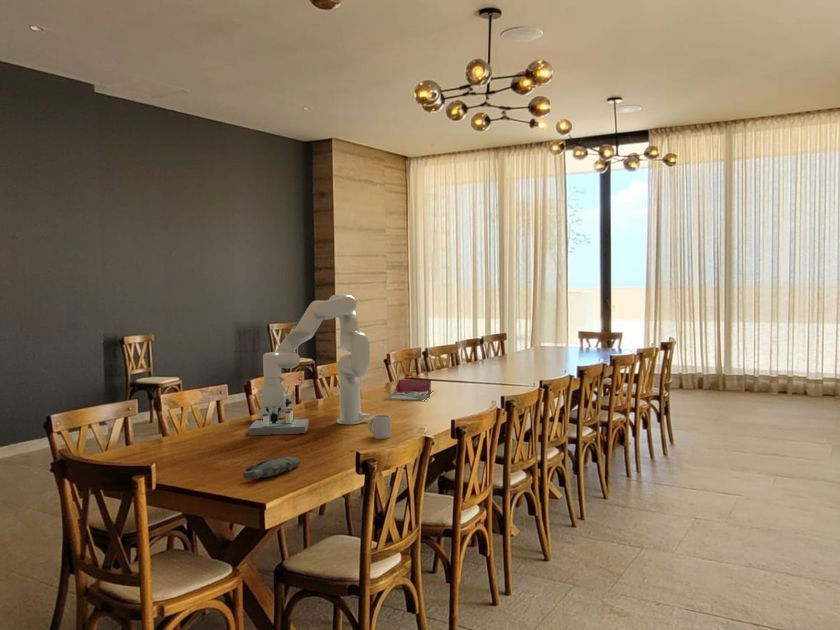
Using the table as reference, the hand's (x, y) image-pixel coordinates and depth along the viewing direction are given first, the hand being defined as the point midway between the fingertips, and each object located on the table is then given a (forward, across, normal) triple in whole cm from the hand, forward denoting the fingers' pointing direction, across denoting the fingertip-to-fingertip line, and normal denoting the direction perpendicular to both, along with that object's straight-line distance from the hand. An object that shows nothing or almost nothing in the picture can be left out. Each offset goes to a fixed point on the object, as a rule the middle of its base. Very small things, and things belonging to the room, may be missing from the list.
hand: (274, 422), depth 304 cm
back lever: (+1, -5, -12) cm, 13 cm away
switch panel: (+5, -1, -6) cm, 8 cm away
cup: (+5, -45, +14) cm, 47 cm away
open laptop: (+7, -66, -91) cm, 112 cm away
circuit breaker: (+5, +3, -34) cm, 35 cm away
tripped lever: (+1, +4, 0) cm, 4 cm away
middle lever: (+1, -5, -6) cm, 8 cm away
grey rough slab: (+5, -6, +64) cm, 65 cm away
